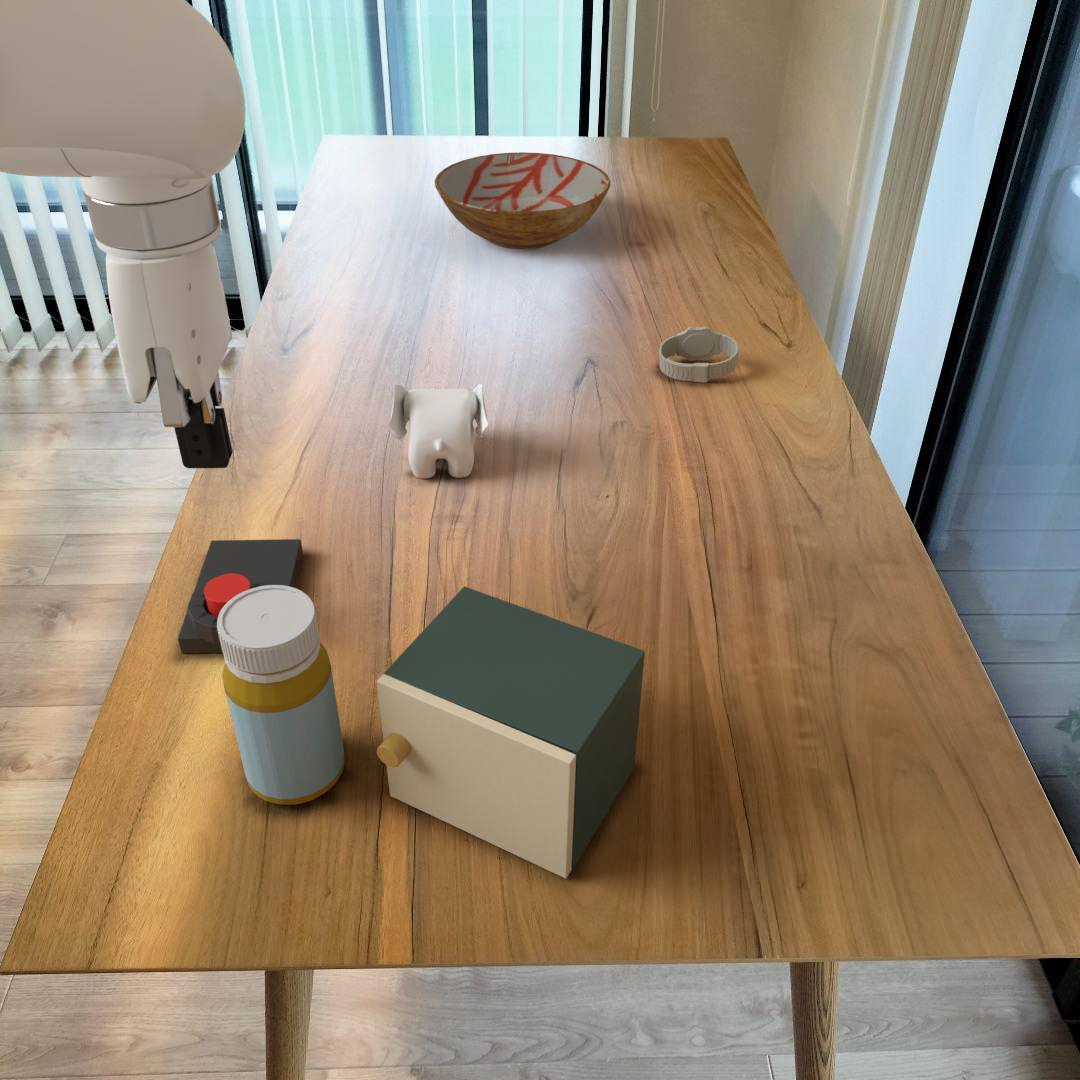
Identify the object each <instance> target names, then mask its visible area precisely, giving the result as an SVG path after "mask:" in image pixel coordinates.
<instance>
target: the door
mask: <svg viewBox="0 0 1080 1080" xmlns="http://www.w3.org/2000/svg"><path fill="white" fill-rule="evenodd" d="M376 688H377V696H378V697H377V698H378V706H379V713H380V722H381V730H382V737H383V738H382V740H383V741H382V742H381V744H379V746H378V747H377V749H376V754H377V756H378V758H379V760H380V761H381V762H382V763H383V764H385V765H386V774H387V782H388V789H389V796H390V797H391V798H394V799H396V800H398V801H400V802H402V803H404V804H407V805H409V806H410V807H413V808H414V809H417V810H419V811H422V812H423V813H425V814H427V815H430V816H432V817H434V818H436V819H438V820H440V821H442V822H445V823H447V824H449V825H451V826H453V827H455V828H457V829H460V830H461V831H463V832H466V833H468V834H470V835H473V836H474V837H477V838H478V839H481V840H482V841H485V842H487V843H489V844H491V845H493V846H496V847H498V848H500V849H502V850H504V851H507V852H508V853H510V854H512V855H515V856H517V857H518V858H521V859H523V860H524V861H527V862H529V863H532V864H533V865H535V866H537V867H540V868H541V869H544V870H546V871H548V872H550V873H552V874H555V875H556V876H559V877H561V878H563V879H566V880H567V879H568V876H569V875H570V873H571V872H572V869H571V867H572V842H573V818H574V794H575V770H576V755H575V754H573V753H571V752H568V751H566V750H564V749H561V748H559V747H556V746H554V745H552V744H549V743H547V742H544V741H542V740H540V739H537V738H535V737H533V736H530V735H528V734H525V733H523V732H521V731H518V730H516V729H514V728H511V727H509V726H506V725H504V724H502V723H499V722H497V721H495V720H492V719H490V718H487V717H485V716H483V715H480V714H478V713H476V712H473V711H471V710H468V709H466V708H464V707H461V706H459V705H457V704H454V703H452V702H449V701H447V700H445V699H442V698H440V697H438V696H435V695H433V694H430V693H428V692H426V691H423V690H421V689H419V688H416V687H414V686H411V685H409V684H407V683H404V682H402V681H400V680H397V679H395V678H392V677H390V676H388V675H385V674H384V673H382V675H381V676H380V677H379V678H378V679H377V680H376Z"/></svg>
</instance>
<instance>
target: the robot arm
mask: <svg viewBox="0 0 1080 1080" xmlns="http://www.w3.org/2000/svg"><path fill="white" fill-rule="evenodd" d="M237 66H238V65H237V64H236V61H235V59H234V57H233V54H232V53H231V51H230V48H229V47H228V45H227V44H226V42H225V40H224V39H223V37H222V36H221V35H220V33H219V31H218V30H217V29H216V28H215V27H214V26H213V24H212V23H211V22H210V21H209V20H208V19H207V18H206V17H205V16H204V15H203V14H202V13H200V12H199V10H197V9H196V8H195V7H194V6H193V5H191V4H190V3H189V2H188V1H187V0H0V172H1V173H5V174H9V175H15V176H23V177H24V176H25V177H45V178H46V177H51V178H54V177H55V178H79V181H80V185H81V189H82V192H83V196H84V200H85V204H86V207H87V212H88V216H89V219H90V223H91V227H92V231H93V236H94V239H95V245H96V246H97V248H98V249H99V250H100V251H102V252H104V253H105V254H106V255H105V271H106V283H107V284H106V285H107V291H108V299H109V305H110V313H111V319H112V324H113V330H114V335H115V339H116V344H117V345H116V346H117V349H118V354H119V360H120V364H121V369H122V374H123V378H124V383H125V387H126V391H127V395H128V398H129V399H130V400H131V402H133V403H134V404H135V405H139V404H142V403H146V402H147V400H148V398H149V396H150V395H151V392H152V390H153V388H154V386H155V385H156V384H157V391H158V397H159V403H160V410H161V411H160V412H161V417H162V423H163V426H164V428H174V433H175V437H176V441H177V446H178V449H179V454H180V459H181V463H182V465H183V467H185V468H187V469H226V468H227V467H228V466H229V464H230V459H231V458H232V455H233V447H232V441H231V436H230V431H229V427H228V422H227V417H226V412H225V408H224V407H222V405H223V392H222V384H221V379H220V373H219V371H220V368H221V365H222V363H223V361H224V359H225V356H226V353H227V351H228V348H229V344H230V340H231V339H230V338H231V327H230V319H229V317H230V316H229V312H228V311H229V310H228V306H227V304H228V303H227V300H226V299H227V298H226V294H225V290H224V285H223V280H222V279H223V278H222V275H221V270H220V266H219V262H218V258H217V253H216V250H215V246H214V245H215V244H214V242H216V240H217V239H218V238H219V237H220V236H221V234H222V224H221V219H220V212H219V208H218V202H217V195H216V191H215V186H214V180H213V177H214V176H215V175H217V174H219V173H221V172H222V171H223V170H225V169H226V168H227V166H229V165H230V164H231V163H232V161H233V159H234V158H235V156H237V153H238V151H239V148H240V146H241V143H242V140H243V135H244V131H245V124H246V101H245V100H246V99H245V91H244V87H243V81H242V78H241V75H240V71H239V68H238V67H237Z"/></svg>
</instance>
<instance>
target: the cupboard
mask: <svg viewBox="0 0 1080 1080" xmlns="http://www.w3.org/2000/svg"><path fill="white" fill-rule="evenodd" d="M645 656H646V651H645V650H643V649H640V648H638V647H636V646H632V645H631V644H630V645H629V644H627V643H624V642H621V641H619V640H615V639H613V638H610V637H607V636H605V635H602V634H598V633H596V632H593V631H590V630H587V629H585V628H582V627H580V626H577V625H574V624H571V623H568V622H565V621H562V620H559V619H557V618H554V617H551V616H549V615H546V614H543V613H541V612H538V611H535V610H532V609H529V608H527V607H523V606H520V605H518V604H515V603H512V602H509V601H507V600H505V599H501V598H499V597H495V596H493V595H490V594H487V593H484V592H482V591H479V590H476V589H473V588H470V587H467V586H465V585H464V586H463V587H462V588H461V589H460V590H459V591H458V592H457V593H456V594H455V595H454V597H453V598H452V599H451V600H450V601H449V602H447V604H446V605H445V606H444V607H443V609H441V611H440V612H439V613H438V614H437V615H436V616H435V617H434V618H433V619H432V620H431V622H430V623H429V624H428V625H427V626H425V628H424V629H423V630H422V631H421V632H420V633H419V634H418V636H416V638H415V639H414V640H413V641H411V643H410V644H409V645H408V646H407V647H406V649H405V650H404V651H403V652H401V654H400V655H399V656H398V657H397V658H396V659H395V661H394V662H393V663H391V665H390V666H389V667H388V668H387V669H386V670H385V671H384V672H383V674H385V675H388V676H390V677H392V678H395V679H397V680H400V681H402V682H404V683H407V684H409V685H411V686H414V687H416V688H419V689H421V690H423V691H426V692H428V693H430V694H433V695H435V696H438V697H440V698H442V699H445V700H447V701H449V702H452V703H454V704H457V705H459V706H461V707H464V708H466V709H468V710H471V711H473V712H476V713H478V714H480V715H483V716H485V717H487V718H490V719H492V720H495V721H497V722H499V723H502V724H504V725H506V726H509V727H511V728H514V729H516V730H518V731H521V732H523V733H525V734H528V735H530V736H533V737H535V738H537V739H540V740H542V741H544V742H547V743H549V744H552V745H554V746H556V747H559V748H561V749H564V750H566V751H568V752H571V753H573V754H575V755H576V770H575V794H574V818H573V842H572V867H571V871H572V870H574V869H575V867H576V866H577V864H578V862H580V861H579V860H580V859H581V858H582V856H583V854H584V852H585V850H586V849H587V847H588V846H589V844H590V842H591V840H592V839H593V837H594V836H595V834H596V832H597V830H598V829H599V828H600V826H601V824H602V823H603V820H604V819H605V817H606V816H607V814H608V813H609V810H610V809H611V808H612V806H613V804H614V802H616V801H615V800H616V799H617V797H618V796H619V794H620V792H621V791H622V789H623V787H624V786H625V784H626V782H627V781H628V779H629V778H630V776H631V774H632V772H633V771H634V769H635V765H636V754H637V743H638V742H637V741H638V733H639V723H640V708H641V701H642V700H641V699H642V690H643V679H644V668H645V666H644V665H645Z"/></svg>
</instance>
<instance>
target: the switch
mask: <svg viewBox="0 0 1080 1080" xmlns="http://www.w3.org/2000/svg"><path fill="white" fill-rule="evenodd" d="M303 555H304V551H303V546H302V540H301V539H299V538H295V539H293V538H292V539H291V538H290V539H286V538H285V539H283V538H281V539H226V540H225V539H223V540H222V539H220V540H215V539H213V540H211V541H210V543H209V546H208V550H207V552H206V555H205V558H204V561H203V564H202V567H201V569H200V572H199V576H198V579H197V581H196V584H195V588H194V590H193V593H192V594H191V596H190V600H189V602H188V605H187V610H186V613H185V616H184V619H183V622H182V625H181V627H180V631H179V634H178V636H177V641H178V645H179V648H180V653H181V654H182V655H183V654H223V651H222V647H221V643H220V639H219V634H218V630H217V620H218V617H216V616H213V615H212V614H211V613H210V612H209V610H208V606H207V602H206V598H205V594H204V589H205V586H206V585H207V584H208V582H209V581H211V580H212V579H214V578H216V577H218V576H221V575H224V574H239V575H242V576H244V577H246V578H247V579H248V580H249V582H250V586H251V589H252V588H256V587H260V586H266V585H283V586H289V587H293V588H296V587H297V586H296V585H297V581H298V577H299V573H300V568H301V564H302V559H303Z"/></svg>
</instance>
